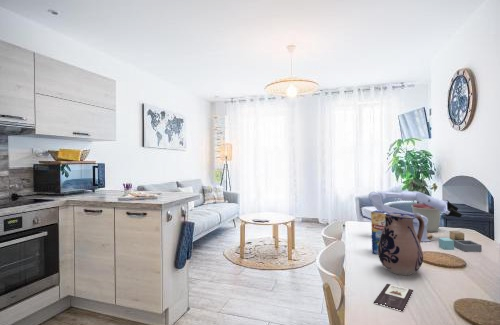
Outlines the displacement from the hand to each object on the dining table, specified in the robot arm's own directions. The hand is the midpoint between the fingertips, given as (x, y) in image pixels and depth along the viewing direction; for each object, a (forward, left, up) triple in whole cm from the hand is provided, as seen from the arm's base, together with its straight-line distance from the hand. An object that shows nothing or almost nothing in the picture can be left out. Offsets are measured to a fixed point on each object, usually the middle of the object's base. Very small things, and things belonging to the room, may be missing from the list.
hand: (459, 212), depth 161 cm
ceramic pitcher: (-50, -47, -17) cm, 71 cm away
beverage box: (-50, -25, -17) cm, 59 cm away
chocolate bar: (-63, -72, -18) cm, 98 cm away
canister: (-5, +27, -17) cm, 32 cm away
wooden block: (-4, -5, -17) cm, 18 cm away
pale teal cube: (-14, -13, -17) cm, 26 cm away
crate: (-4, -14, -17) cm, 23 cm away
